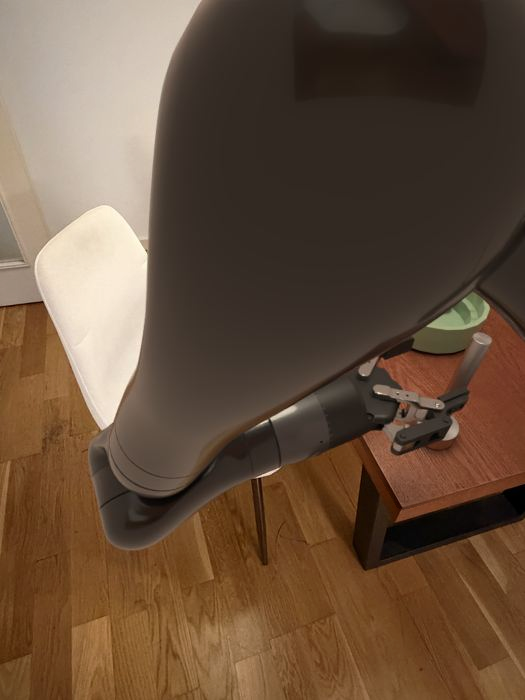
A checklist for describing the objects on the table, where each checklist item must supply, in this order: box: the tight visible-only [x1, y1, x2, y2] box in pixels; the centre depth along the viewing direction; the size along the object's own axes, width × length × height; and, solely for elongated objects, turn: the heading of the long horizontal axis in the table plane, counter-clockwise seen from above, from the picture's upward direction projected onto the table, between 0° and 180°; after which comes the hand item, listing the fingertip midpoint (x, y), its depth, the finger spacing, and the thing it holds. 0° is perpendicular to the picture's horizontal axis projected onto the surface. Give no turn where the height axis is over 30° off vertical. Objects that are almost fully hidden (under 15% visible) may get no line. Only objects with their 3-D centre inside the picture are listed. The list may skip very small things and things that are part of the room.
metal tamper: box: [412, 331, 493, 451], centre depth 51 cm, size 6×6×18 cm
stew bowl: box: [412, 292, 491, 355], centre depth 72 cm, size 18×18×6 cm
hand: (436, 366), depth 44 cm, fingers open, 8 cm apart
